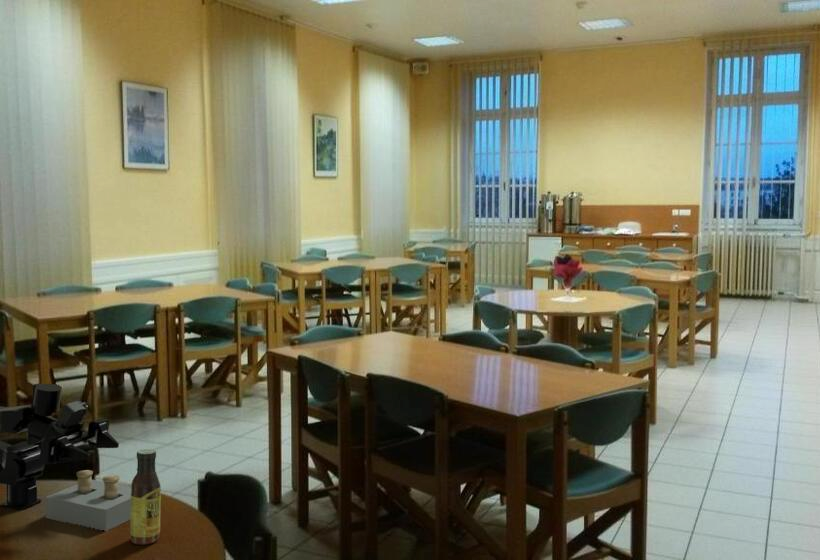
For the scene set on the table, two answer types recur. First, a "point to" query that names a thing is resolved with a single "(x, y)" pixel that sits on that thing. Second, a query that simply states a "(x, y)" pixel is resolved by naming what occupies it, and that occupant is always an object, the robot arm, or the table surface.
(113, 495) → the peg
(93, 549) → the table surface
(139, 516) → the sauce bottle
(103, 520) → the board
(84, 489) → the peg
